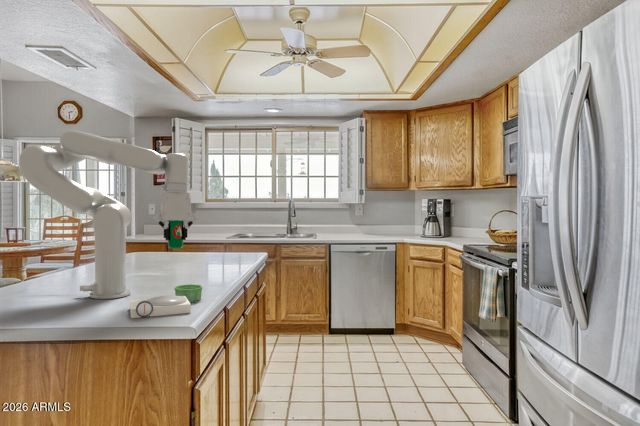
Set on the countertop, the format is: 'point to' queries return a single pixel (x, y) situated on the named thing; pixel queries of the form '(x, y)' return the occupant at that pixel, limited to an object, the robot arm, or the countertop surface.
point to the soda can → (175, 234)
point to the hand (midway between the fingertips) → (175, 239)
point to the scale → (159, 306)
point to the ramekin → (189, 291)
